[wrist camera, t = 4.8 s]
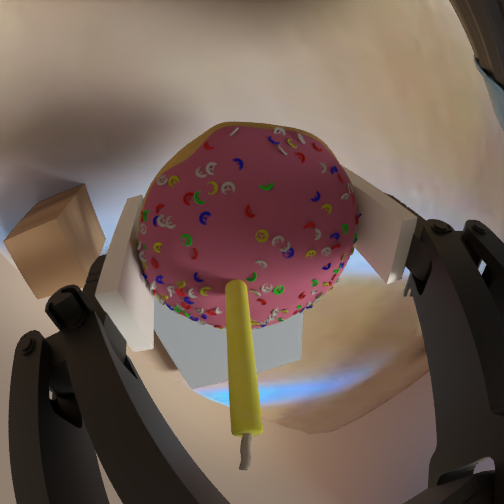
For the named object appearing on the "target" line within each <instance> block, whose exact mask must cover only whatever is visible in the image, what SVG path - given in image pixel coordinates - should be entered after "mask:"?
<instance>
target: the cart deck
mask: <svg viewBox="0 0 504 504" xmlns="http://www.w3.org/2000/svg"><path fill="white" fill-rule="evenodd" d="M158 297H159V296H158ZM163 302H164V301H163ZM161 303H162V299H161ZM162 304H163V303H162ZM171 308H172V307H171ZM176 312H177V311H176ZM177 313H179V312H177ZM302 325H303V311H302V312H301V313H300V312H298V313H297V314H295V315H293V316H291V317H290V318H288V319H286V320H284V321H282V322H279V323H276V324H273V325H270V326H265V327H263V328H261V329H255V328H253V330H255V331H252V338H253V347H254V356H255V365H256V373H259V372H263V371H266V370H269V369H273V368H276V367H279V366H282V365H285V364H289V363H292V362H295V361H298V360H300V359H301V350H302ZM154 330H155V332H156V334H157V336H158V337H159V339H160V341H161V342H162V344H163V346H164V347H165V349H166V350H167V352H168V354H169V355H170V357H171V358H172V360H173V362H174V363H175V365H176V366H177V368H178V369H179V371H180V372H181V374H182V375H183V377H184V378H185V380H186V381H187V383H188V384H189V386H190V387H191V388H192V389H194V388H199V387H203V386H208V385H212V384H217V383H221V382H225V381H228V360H227V334H226V329H219V328H214V326H212V325H209V324H206V325H200V324H199V323H198V322H197V321H194V322H192V321H191V320H190V319H189V318H187V317H186V318H184V317H182V315H177V314H176V313H175V312H174V311H172V310H170V309H169V308H168V307H167V306H166V303H165V305H164V306H162V305H160V303H159V300H158V299H157V297H156V294H155V296H154Z"/></svg>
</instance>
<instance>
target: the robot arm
mask: <svg viewBox="0 0 504 504" xmlns="http://www.w3.org/2000/svg"><path fill="white" fill-rule="evenodd" d="M449 1H450V3H451V4H452V6H453V8H454V10H455V12H456V14H457V16H458V18H459V20H460V22H461V24H462V26H463V28H464V30H465V32H466V34H467V37H468V39H469V41H470V44H471V46H472V49H473V51H474V62H475V64H476V67H477V69H478V71H479V72H480V73H481V75H482V76H483V78H484V81H485V84H486V86H487V89H488V92H489V96H490V99H491V102H492V105H493V109H494V112H495V114H496V117H497V119H498V121H499V123H500V125H501V127H502V129H503V131H504V0H449ZM341 166H342V165H341ZM342 168H343V169H344V170H345V172H346V173H347V175H348V177H349V179H350V181H351V183H352V186H353V189H354V192H355V197H356V203H357V212H358V215H359V214H360V213H362V215H361V216H360V217H359V218H358V220H359V221H358V224H357V225H358V232H357V241H356V242H355V244H354V245H353V246H354V247H355V248H356V249H357V251H358V252H359V253H360V254H361V255H362V256H363V257H364V258H365V259H366V261H367V262H368V263H369V264H370V265H371V266H372V267H373V269H374V270H375V271H376V272H377V273H378V274H379V275H380V277H381V278H382V279H383V280H384V281H385V283H386V284H389V283H392V282H394V281H397V280H399V279H402V275H403V272H404V269H405V266H406V267H407V268H408V269H409V271H410V275H409V278H408V281H407V284H406V287H405V290H404V296H407V293H408V290H409V289H411V293H410V296H413V299H414V302H415V306H416V310H417V313H418V317H419V321H420V325H421V330H422V334H423V338H424V343H425V348H426V353H427V358H428V364H429V369H430V375H431V382H432V389H433V397H434V406H435V416H436V431H437V447H436V450H435V452H434V454H433V456H432V458H431V460H430V464H429V480H428V488H427V489H426V490H424V491H423V492H421V493H420V494H418V495H417V496H415V497H413V498H412V499H410V500H408V501H407V502H405V503H404V504H504V243H503V242H502V241H501V240H500V239H499V238H498V237H497V236H496V235H495V234H494V233H493V232H492V231H491V230H490V229H489V228H488V227H487V226H485V225H484V224H482V223H481V222H480V221H477V220H467V221H466V223H465V226H464V229H463V231H455V230H454V229H453V228H452V227H451V226H450V225H449V224H447V223H445V222H443V221H441V220H436V219H429V220H427V221H426V220H425V219H423V218H422V217H421V216H419V215H418V214H417V213H415V212H414V211H413V210H411V209H410V208H409V207H407V206H406V205H405V204H403V203H401V202H400V201H399V200H398V199H396V198H395V197H393V196H391V195H389V194H386V193H384V192H382V191H381V190H379V189H378V188H376V187H375V186H373V185H372V184H370V183H369V182H367V181H366V180H364V179H363V178H361V177H359V176H358V175H356V174H355V173H353V172H352V171H350V170H348V169H347V168H345V167H343V166H342ZM143 200H144V199H143V196H142V195H139V196H135V197H132V198H129V199H127V201H126V204H125V206H124V209H123V211H122V214H121V216H120V219H119V221H118V224H117V227H116V229H115V232H114V235H113V238H112V241H111V243H110V246H109V249H108V252H107V254H106V255H102V256H99V257H98V258H97V259H96V260H95V261H94V263H93V264H92V265H91V267H90V270H89V273H88V276H87V279H86V284H85V285H84V288H83V291H81V289H80V288H79V286H77V285H74V284H72V285H67V286H64V287H62V288H60V289H59V290H58V291H56V292H55V293H54V294H53V295H52V296H51V297H50V298H49V300H48V302H47V304H46V308H45V312H46V313H47V315H48V316H49V317H50V319H51V320H52V321H53V322H54V324H55V325H56V326H57V327H58V329H59V330H60V331H59V332H58V333H55V334H53V335H51V336H49V337H47V338H44V337H43V336H42V335H41V333H40V332H39V331H36V330H33V331H29V332H28V333H26V334H24V335H23V336H22V337H21V338H20V341H19V342H18V344H17V346H16V349H15V355H14V361H13V368H12V376H11V385H10V398H9V399H10V400H9V452H10V464H11V473H12V480H13V487H14V492H15V498H16V502H17V504H109V501H108V498H107V494H106V491H105V488H104V484H103V481H102V477H101V473H100V469H99V465H98V461H97V456H96V453H97V455H98V457H99V459H100V461H101V464H102V466H103V468H104V470H105V472H106V474H107V476H108V478H109V480H110V481H111V483H112V485H113V487H114V489H115V491H116V492H117V494H118V496H119V497H120V499H121V501H122V503H123V504H230V503H229V502H228V501H227V500H226V498H225V497H223V495H222V494H221V493H220V492H219V491H218V490H217V488H216V487H215V486H214V485H213V484H212V483H211V482H210V480H209V479H208V478H207V477H206V476H205V474H204V473H203V472H202V471H201V469H200V468H199V467H198V466H197V464H196V463H195V462H194V461H193V459H192V458H191V457H190V455H189V454H188V453H187V451H186V450H185V449H184V447H183V446H182V445H181V443H180V441H179V440H178V439H177V437H176V436H175V434H174V433H173V431H172V430H171V428H170V427H169V425H168V424H167V422H166V421H165V419H164V418H163V416H162V414H161V413H160V411H159V410H158V408H157V406H156V405H155V403H154V401H153V400H152V398H151V396H150V395H149V393H148V391H147V389H146V388H145V386H144V384H143V382H142V380H141V379H140V377H139V375H138V373H137V371H136V369H135V367H134V365H133V363H132V361H131V360H130V358H129V357H128V356H127V355H126V343H127V344H128V345H129V347H130V348H131V349H132V351H133V352H138V351H144V350H150V349H154V295H153V289H151V291H150V284H149V283H148V281H147V279H145V277H144V276H143V275H142V274H145V273H144V270H143V267H142V263H141V260H140V258H139V254H140V253H139V250H137V246H138V236H137V228H138V219H139V214H140V210H141V206H142V203H143ZM482 260H483V261H484V262H485V263H486V267H485V269H484V272H483V274H482V276H481V274H480V272H479V270H478V269H479V266H480V264H481V262H482ZM49 390H50V391H51V392H52V400H51V399H50V398H49ZM95 451H96V452H95ZM490 457H491V458H492V459H493V460H494V464H495V470H490V471H483V472H480V473H476V474H473V471H474V468H475V466H476V464H478V463H479V462H481V461H483V460H485V459H487V458H490Z"/></svg>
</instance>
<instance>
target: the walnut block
mask: <svg viewBox="0 0 504 504" xmlns="http://www.w3.org/2000/svg"><path fill="white" fill-rule="evenodd" d="M105 239H106V238H105V236H104V233H103V231H102V229H101V226H100V224H99V221H98V219H97V216H96V214H95V211H94V208H93V206H92V203H91V200H90V197H89V195H88V192H87V189H86V186H85V184H82V185H80V186H77V187H74V188H72V189H69V190H67V191H64V192H62V193H59V194H57V195H55V196H52V197H50V198H48V199H45V200H43V201H41V202H39V203H37V204H36V205H35V206H34V207H33V208H32V209H31V210H30V211H29V212H28V213H27V214H26V215H25V216H24V218H23V219H22V220H21V221H20V222H19V223H18V224H17V226H16V227H15V228H14V229H13V230H12V231H11V233H10V234H9V235H8V236H7V238H6V239H5V240H4V243H5V245H6V247H7V249H8V251H9V253H10V255H11V257H12V258H13V260H14V262H15V264H16V266H17V267H18V269H19V271H20V273H21V274H22V276H23V277H24V279H25V281H26V282H27V284H28V285H29V287H30V288H31V290H32V292H33V293H34V295H35V296H36V298H37V299H40V298H44V297H48V296H52V295H53V294H54V293H55V292H56V291H58V290H59V289H60V288H62V287H64V286H67V285H72V284H74V285H77V286H79V288H82V287H84V285H85V284H86V279H87V276H88V273H89V270H90V267H91V265H92V264H93V263H94V261H95V260H96V259H97V258H98V257H99V256H100V253H101V250H102V248H103V245H104V242H105Z"/></svg>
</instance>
